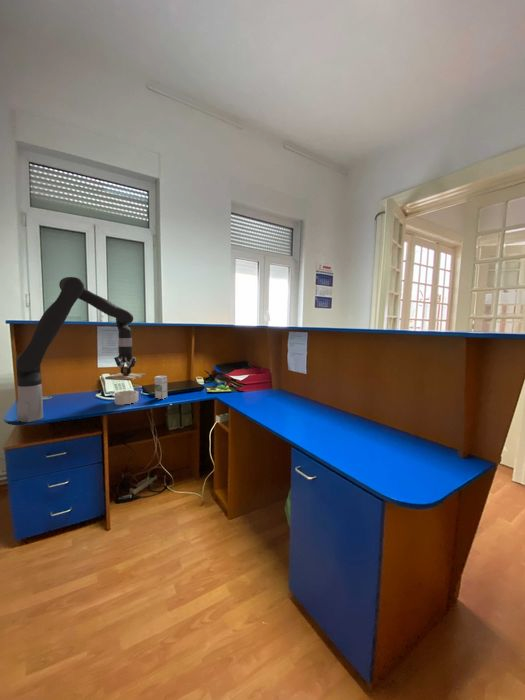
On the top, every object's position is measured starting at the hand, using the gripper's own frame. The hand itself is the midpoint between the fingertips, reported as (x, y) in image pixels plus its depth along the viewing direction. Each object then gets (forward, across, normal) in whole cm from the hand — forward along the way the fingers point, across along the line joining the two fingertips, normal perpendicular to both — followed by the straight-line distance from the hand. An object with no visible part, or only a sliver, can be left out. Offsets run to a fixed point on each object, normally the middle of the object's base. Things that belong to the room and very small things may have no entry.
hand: (125, 373), depth 177 cm
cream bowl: (+17, 0, 0) cm, 17 cm away
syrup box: (+17, +16, +12) cm, 27 cm away
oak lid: (+2, 0, 0) cm, 2 cm away
